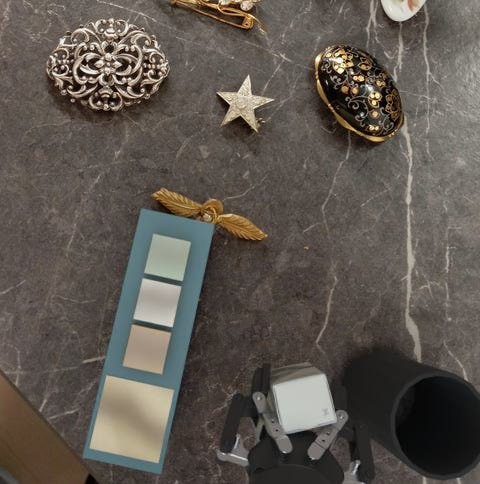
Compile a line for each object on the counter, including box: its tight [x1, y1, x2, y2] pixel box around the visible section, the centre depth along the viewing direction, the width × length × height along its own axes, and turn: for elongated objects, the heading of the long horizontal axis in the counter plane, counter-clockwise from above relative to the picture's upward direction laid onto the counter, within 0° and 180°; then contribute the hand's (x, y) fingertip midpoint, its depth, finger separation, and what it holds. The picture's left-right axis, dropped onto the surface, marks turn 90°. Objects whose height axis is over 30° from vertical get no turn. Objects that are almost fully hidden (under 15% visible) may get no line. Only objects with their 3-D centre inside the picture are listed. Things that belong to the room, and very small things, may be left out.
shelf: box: [81, 207, 216, 475], centre depth 106 cm, size 25×8×28 cm, turn 168°
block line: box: [89, 233, 191, 463], centre depth 90 cm, size 22×7×4 cm, turn 168°
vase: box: [341, 350, 480, 482], centre depth 104 cm, size 10×10×30 cm
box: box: [267, 361, 337, 434], centre depth 86 cm, size 5×4×13 cm
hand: (299, 376), depth 86 cm, fingers closed on box, 6 cm apart
